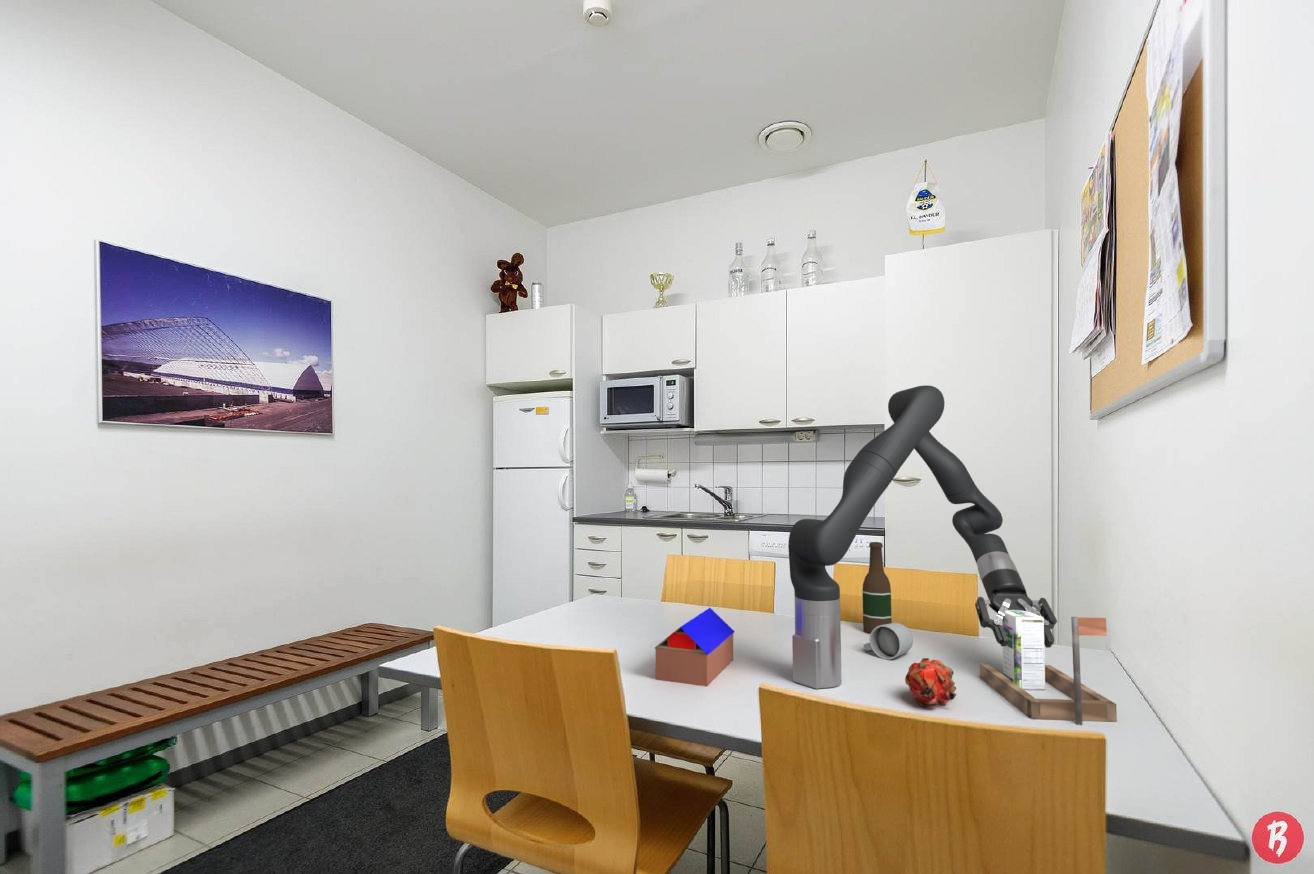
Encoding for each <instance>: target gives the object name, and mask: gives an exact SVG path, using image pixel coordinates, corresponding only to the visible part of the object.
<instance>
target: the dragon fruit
mask: <svg viewBox="0 0 1314 874" xmlns="http://www.w3.org/2000/svg"><path fill="white" fill-rule="evenodd" d="M953 675H954V670H952V668H951V667H949V666H946V665H945V664H944V663H943V661H941V660H940V659H932V660H930V658H929V657H923V658H921V660H920V662H913V663H911V664H910V666H909V667H908V671H907V674H906V675H905V677H904V680H905V681H904V682H905V684H906V685H907V686H908V687H909V690H910V693H911V695H912V696H914V698H915V701H917V704H918V705H919V706H921V707H924V708H925V706H926V707H929V706H931V705H934V706H937V705H938V704H939V705H941V706H944V705H947V703H948V702H950V701H953V700H955V698H956V697H957V693H956V690H957V686H955V682H954V680H953Z"/></svg>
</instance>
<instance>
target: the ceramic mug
mask: <svg viewBox="0 0 1314 874" xmlns="http://www.w3.org/2000/svg"><path fill="white" fill-rule="evenodd" d="M913 645H914V637H913V634H912V632H911V631H910V629H909V628H908V627H907V626H906V625H904V624H901V623H899V622H892V623H890V624H885V625H880V626H877V627H876V628H874V629H873V630H872V632H871V634H869V642H868V643H864V644H863V648H864V650H865V652H869V651H872V652H873V653H874V654H875V655H876V656H878V657H879V658H880V659H883V660H887V661H888V660H893V659H896V658H898V657H900V656H902V655H905V654H906V653H908V652H909V651H910V650H912V648H913Z"/></svg>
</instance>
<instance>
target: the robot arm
mask: <svg viewBox="0 0 1314 874" xmlns="http://www.w3.org/2000/svg"><path fill="white" fill-rule="evenodd" d="M887 403H888V404H887V406H888V408H887V409H888V410H887V411H888V413H889V417H890V419H891V420H892V422H893V423H892V424H891V426H889V427H888V428H887V429H884V430H883V431H882V432H881V433H879V434H878V435H877V436H875V437H874V438H872V440H870V441H869V442H868V443H866V444H865V445H864V446H863V447H862V448H861V449H860V450H858V453H857V454H856V455H855V456H854V457H853V459H852V460H851V462H850V463H849V465H848V466H847V467H846V469H845V472H844V476H843V478H842V479H843V482H842V494H841V498H840V500H839V501H838V503H837V505H836V506H835V507H834V509H833V510H832V511H831V512H830V514H829V515H828V516H827V517H826V518H825V519H813V518H803V519H800V520H798V521H796V522H795V523H794V524H793V526H792V527H791V529H790V532H789V537H788V543H787V544H788V560H789V562H788V563H789V577H790V582H791V585H792V587H793V592H794V634H793V635H792V636H791V637H792V639H791V640H792V641H791V642H792V646H791V647H792V682H795V683H797V684H801V685H803V686H807V687H810V688H813V689H817V690H819V689H821V688H822V689H823V688H835V687H838V686H840V685H841V684H842V682H843V681H842V640H841V639H842V638H841V637H842V635H841V632H842V631H841V591H840V589H841V588H840V584H839V583H838V582H837V581H836V580H835V579H833V578H832V577H831V575H829V573H828V571H827V568H826V567H827V566H828V567H830V566H833V565H836V564H838V563H839V562H840V561H841V560H842V559H843V558H844V557H845V555H846V554H847V552H848V550H849V549H850V548H851V546H852V543H853V542H854V540H855V538H856V536H857V534H858V532H859V530H860V529H861V526H862V525H863V523H864V522H865V520H866V518H867V517H868V516H869V514H870V513H871V511H872V509H873V508H874V506H875V505H876V503H877V502H878V500H879V499H880V498H881V496H882V494H883V493H884V492H885V491H886V489H887V488H888V487H889V486H890V485H891V482H892V481H893V480H894V478H895V477H896V475H897V474H898V472H899V470H900V469H901V467H902V466H903V465H904V464H905V462H906V461H907V459H908V458H909V457H910V455H911V454H912V453H913V451H916V453H917V454H918V455H919V456H920V458H921V459H922V461H924V463H925V465H926V466H927V467H928V469H929V470H930V471H931V473H932V475H933V476H934V478H935V480H936V481H937V483H938V485H939V486H940V489H941V490H942V492H943V494H944V497H946V500H947V501H948V502H949V503H950V504H953V505H962V504H972V505H970V506H968V507H965V508H962V509H959V510H957V511H955V513H954V514H953V516H952V526H953V527H954V529H955V531H956V533H958V534H959V536H960V537H961V538H962V540H964V541H965V543H966V544H967V545H968V547H969V549H970V551H971V553H972V556H973V558H974V562H975V564H976V566H977V571H978V575H979V579H980V581H981V584H982V585H983V589H984V590H985V593H986V596H987V598H988V599H985V598H984V597H982V596H977V599H976V602H975V604H974V606H975V609H976V613H977V617H978V620H979V625H980V627H982V628H983V629H985V628H989V629H991V630H992V633H993V635H994V638H995V641H996V642H997V644H999V645H1000V647H1003V646H1006V645H1007V643H1008V640H1007V637H1006V634H1005V632H1004V629H1003V626H1002V625H1001V623H1002V619H1003V617H1004V615H1005V612H1006V611H1007V610H1021V611H1027V612H1030V613H1033V614H1036V615H1038V616H1042V617H1043V618H1044V648H1048V649H1049V648H1052V646H1053V645H1054V642H1055V637H1054V635H1053V633H1052V630H1053V629H1054V627H1055V626H1056V624H1057V623H1058V620H1057V617H1056V616H1055V614H1054V612H1053V610H1052V608H1051V606H1050V605H1049V603H1048V601H1047V599H1046V598H1044V597H1040V598H1039V600H1037V599H1035V600H1033V599H1031V598H1029V596H1028V593H1027V589H1026V587H1025V585H1024V583H1023V580H1022V578H1021V576H1020V573H1019V571H1018V568H1017V566H1016V563H1014V561H1013V559H1012V558H1011V556H1010V554H1009V553H1010V552H1008V548H1007V546H1006V544H1005V541H1004V540H1003V538H1002V537H1001V536H999V535H998V534H996V533H995V534H994V533H991V532H994V531H996V530H999V529H1000V528H1001V527H1002V525H1003V522H1004V521H1003V520H1004V519H1003V516H1002V513H1001V510H999V509H998V507H997V506H996V505H995V504H994V503H993V502H991V501H990V499H988V497H987V496H985V495H984V493H982V492H981V490H980V489H979V488H978V486H977V485H976V483H975V481H974V480H973V478H972V476H971V474H970V472H969V471H968V469H967V467H966V465H965V464H964V463H963V461H962V460H961V459H960V458H959V457H958V456H957V455H955V453H953V452H952V451H951V450H950V449H949V448H948V447H946V446H945V445H943V444H942V443H941V442H940V441H939V440H937V439H936V438H935V436H934V435H933V434H932V433H931V432H930V431H931V430H932V428H933V427H934V426H935V425H936V424H937V423H938V422H939V421H940V419H941V417H942V416H943V413H944V410H945V396H944V394H943V392H942V391H941V390H940V389H939V388H937V387H936V386H934V385H929V384H928V385H925V384H924V385H918V386H914V387H911V388H906V389H903V390H902V389H901V390H899V391H897V392H895V393H893V394H892V395H891V396H890V398H889V400H888V402H887ZM988 608H991V610H992V611H994V613H996V616H995V618H994V619H993V618H992V619H991V618H990V614H989V611H988Z"/></svg>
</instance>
